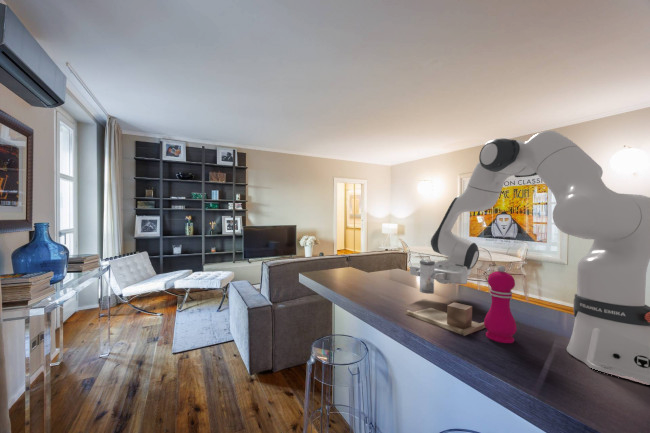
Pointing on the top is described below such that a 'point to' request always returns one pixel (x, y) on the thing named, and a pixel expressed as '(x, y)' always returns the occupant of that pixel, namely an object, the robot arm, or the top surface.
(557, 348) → the top surface
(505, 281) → the pepper mill
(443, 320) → the board
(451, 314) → the walnut block
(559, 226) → the robot arm
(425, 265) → the canister
